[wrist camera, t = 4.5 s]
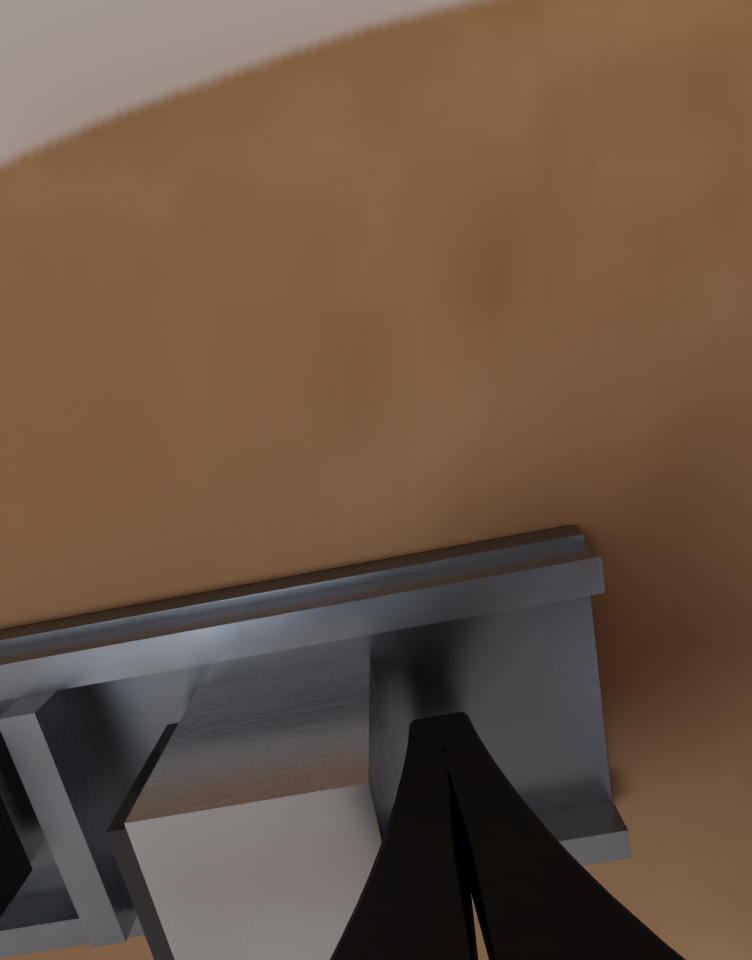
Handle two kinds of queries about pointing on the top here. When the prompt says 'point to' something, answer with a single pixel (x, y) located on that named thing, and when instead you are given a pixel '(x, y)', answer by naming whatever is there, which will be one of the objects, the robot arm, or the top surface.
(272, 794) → the free white block
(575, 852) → the rail
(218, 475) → the top surface
